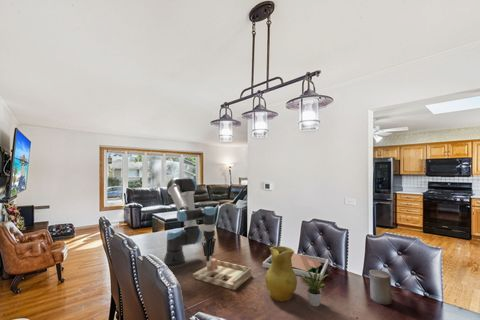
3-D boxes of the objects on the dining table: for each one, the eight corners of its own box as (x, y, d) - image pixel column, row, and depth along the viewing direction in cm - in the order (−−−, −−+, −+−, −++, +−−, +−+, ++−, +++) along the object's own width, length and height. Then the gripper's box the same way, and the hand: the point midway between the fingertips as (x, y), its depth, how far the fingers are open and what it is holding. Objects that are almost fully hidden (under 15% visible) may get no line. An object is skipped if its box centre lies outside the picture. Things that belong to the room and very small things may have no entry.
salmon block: (206, 267, 156) (206, 260, 157) (211, 265, 161) (211, 257, 161) (212, 269, 154) (212, 261, 154) (217, 266, 158) (217, 259, 158)
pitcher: (258, 294, 127) (260, 247, 128) (278, 284, 140) (280, 242, 141) (284, 308, 114) (286, 257, 116) (303, 296, 127) (305, 250, 129)
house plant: (324, 295, 126) (324, 264, 127) (336, 310, 113) (335, 276, 113) (299, 295, 126) (298, 265, 127) (307, 311, 112) (306, 276, 113)
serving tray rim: (262, 267, 163) (262, 262, 163) (277, 253, 190) (277, 250, 190) (321, 280, 144) (321, 275, 144) (328, 263, 170) (328, 259, 170)
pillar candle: (393, 299, 123) (391, 270, 123) (389, 307, 115) (388, 276, 116) (372, 293, 129) (371, 265, 130) (368, 300, 122) (367, 271, 123)
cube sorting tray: (193, 277, 147) (193, 269, 147) (212, 266, 165) (212, 259, 165) (235, 290, 132) (235, 281, 132) (251, 275, 150) (251, 267, 150)
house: (311, 277, 147) (310, 264, 147) (268, 263, 169) (268, 252, 169) (325, 267, 164) (325, 255, 164) (285, 255, 186) (285, 245, 186)
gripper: (207, 233, 148) (207, 270, 147) (219, 228, 160) (219, 263, 158) (198, 231, 152) (198, 268, 151) (210, 227, 163) (210, 261, 162)
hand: (208, 265), depth 155 cm, fingers closed
